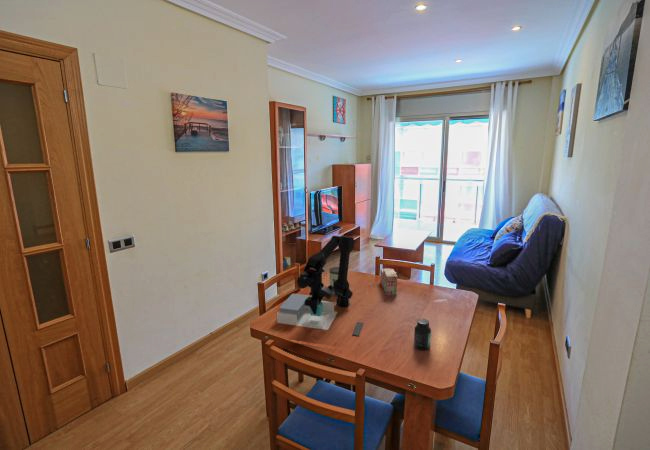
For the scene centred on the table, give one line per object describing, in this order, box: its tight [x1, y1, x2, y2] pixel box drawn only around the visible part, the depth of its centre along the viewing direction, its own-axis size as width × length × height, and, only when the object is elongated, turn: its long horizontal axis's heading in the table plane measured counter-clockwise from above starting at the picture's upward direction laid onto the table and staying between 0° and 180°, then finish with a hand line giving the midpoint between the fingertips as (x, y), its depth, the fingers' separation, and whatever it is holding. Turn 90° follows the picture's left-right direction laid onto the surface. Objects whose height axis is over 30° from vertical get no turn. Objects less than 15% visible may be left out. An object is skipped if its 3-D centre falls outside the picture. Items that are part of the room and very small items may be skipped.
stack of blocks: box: [379, 268, 398, 296], centre depth 208 cm, size 21×6×12 cm, turn 0°
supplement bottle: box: [413, 318, 432, 351], centre depth 145 cm, size 7×7×12 cm
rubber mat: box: [352, 321, 364, 337], centre depth 162 cm, size 12×12×1 cm
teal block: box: [310, 302, 323, 316], centre depth 167 cm, size 5×5×5 cm
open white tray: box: [276, 300, 338, 331], centre depth 171 cm, size 26×19×6 cm
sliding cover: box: [278, 293, 311, 314], centre depth 173 cm, size 10×18×2 cm, turn 164°
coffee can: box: [328, 266, 339, 295], centre depth 204 cm, size 10×10×14 cm
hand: (316, 311), depth 168 cm, fingers closed on teal block, 5 cm apart
